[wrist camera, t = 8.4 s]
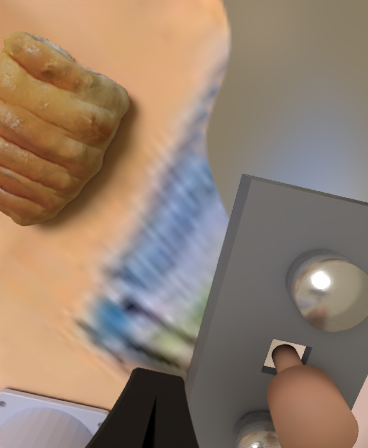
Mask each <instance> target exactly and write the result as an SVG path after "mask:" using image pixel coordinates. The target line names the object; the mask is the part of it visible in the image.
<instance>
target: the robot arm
mask: <svg viewBox="0 0 368 448" xmlns="http://www.w3.org/2000/svg"><path fill="white" fill-rule="evenodd" d="M101 422H102V423H101ZM0 448H199V445H198V442H197V438H196V435H195V431H194V427H193V423H192V419H191V415H190V411H189V407H188V402H187V397H186V391H185V385H184V380H183V379H182V377H180V376H175V375H170V374H166V373H161V372H157V371H152V370H148V369H143V368H138V367H137V368H135V369H134V370H133V371H132V373H131V376H130V378H129V380H128V382H127V384H126V386H125V388H124V390H123V391H122V393H121V395H120V397H119V398H118V400H117V401H116V403H115V405H114V406H113V408H112V410H111V411H110V413H109V412H108V411H107V410H103V409H99V408H94V407H89V406H85V405H80V404H75V403H71V402H66V401H62V400H57V399H52V398H48V397H43V396H38V395H34V394H29V393H24V392H20V391H15V390H11V389H2V390H1V391H0Z"/></svg>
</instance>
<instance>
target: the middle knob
mask: <svg viewBox="0 0 368 448" xmlns="http://www.w3.org/2000/svg"><path fill="white" fill-rule="evenodd" d="M272 359H273V362H274V365H275V367H276V371H277V373H278V374H276V375H275V376H274V377H273V379H272V380H271V381H270V383H269V385H268V388H267V393H266V397H267V402H268V406H269V409H270V413H271V416H272V420H273V423H274V427H275V431H276V434H277V438H278V441H279V444H280V446H281V448H352V447H353V446H354V444H355V442H356V440H357V437H358V424H357V421H356V419H355V417H354V415H353V414H352V412H351V410H350V409H349V407H348V405H347V404H346V402H345V400H344V398H343V397H342V395H341V393H340V392H339V390H338V388H337V386H336V385H335V383H334V381H333V380H332V378H331V377H330V376H329V375H328V374H327V373H326V372H325V371H323V370H322V369H320V368H317V367H314V366H310V365H303V363H302V361H301V359H300V357H299V355H298V353H297V351H296V349H295V348H294V347H293V346H291V345H288V344H283V345H279V346H277V347H276V348H275V349H274V350H273V352H272Z"/></svg>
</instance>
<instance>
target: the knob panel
mask: <svg viewBox="0 0 368 448" xmlns="http://www.w3.org/2000/svg"><path fill="white" fill-rule="evenodd" d="M314 249H330V250H333V251H335V252H338V253H339V254H341V255H342V256H344V257H345V258H346V259H348V260H349V261H350V262H352V263H353V264H354V265H356V266H357V267H358V268H360V269H361V270H362V271H364V272H365V273H366V274H367V275H368V203H367V202H362V201H358V200H354V199H349V198H345V197H340V196H336V195H332V194H328V193H323V192H319V191H315V190H310V189H306V188H302V187H298V186H293V185H289V184H284V183H280V182H276V181H272V180H268V179H263V178H258V177H255V176H250V175H246V174H242V177H241V181H240V184H239V188H238V192H237V195H236V199H235V203H234V207H233V210H232V214H231V217H230V221H229V225H228V228H227V232H226V235H225V239H224V243H223V246H222V250H221V254H220V257H219V261H218V265H217V268H216V272H215V276H214V279H213V283H212V287H211V290H210V294H209V298H208V301H207V305H206V309H205V312H204V316H203V320H202V323H201V327H200V331H199V334H198V338H197V342H196V345H195V349H194V353H193V356H192V360H191V364H190V367H189V371H188V375H187V378H186V382H185V391H186V397H187V402H188V407H189V411H190V415H191V419H192V423H193V427H194V431H195V435H196V438H197V442H198V445H199V448H235V444H234V436H233V431H234V427H235V425H236V423H237V422H238V421H239V420H240V419H241V418H242V417H243V416H245V415H246V414H247V412H250V413H252V412H257V411H266V412H270V409H269V406H268V402H267V397H266V393H267V388H268V385H269V383H270V381H271V380H272V379H273V377H274V376H275V375H276V374H278V373H277V371H276V368H271V367H267V366H263V365H264V362H265V360H266V357H267V354H268V351H269V348H270V345H271V342H272V340H273V339H277V340H281V341H286V342H290V343H295V344H299V345H304V346H306V349H305V351H304V354H303V356H302V359H301V361H302V363H303V365H310V366H314V367H317V368H320V369H322V370H323V371H325V372H326V373H327V374H328V375H329V376H330V377H331V378H332V380H333V381H334V383H335V385H336V386H337V388H338V390H339V392H340V393H341V395H342V397H343V398H344V400H345V402H346V404H347V405H348V407H349V409H350V410H352V408H353V405H354V403H355V401H356V399H357V397H358V394H359V392H360V390H361V388H362V386H363V383H364V381H365V379H366V377H367V375H368V316H367V317H366V318H365V319H364V320H363V321H362V322H360V323H359V324H358V325H356V326H354V327H352V328H350V329H347V330H344V331H337V332H329V331H323V330H320V329H318V328H315V327H314V326H312V325H311V324H309V323H308V322H307V321H306V320H305V318H304V317H303V315H302V314H301V312H300V310H299V309H298V307H297V306H296V304H295V303H294V301H293V299H292V298H291V296H290V295H289V293H288V291H287V287H286V275H287V271H288V269H289V267H290V265H291V264H292V263H293V261H294V260H295V259H296V258H298V257H299V256H300V255H302V254H303V253H305V252H307V251H310V250H314Z"/></svg>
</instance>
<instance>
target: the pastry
mask: <svg viewBox="0 0 368 448" xmlns="http://www.w3.org/2000/svg"><path fill="white" fill-rule="evenodd" d="M129 107H130V98H129V95H128V93H127V91H126V89H125V88H123V87H122V86H121V85H119V84H117V83H116V82H115V81H113V80H112V79H110V78H108V77H107V76H105V75H102V74H100V73H97V72H95V71H93V70H91V69H89V68H88V67H84V66H82V65H80V64H77V63H75V62H74V61H73V60H72V59H71V58H70V56H69V55H68V54H67V53H66V51H65V50H63V49H62V48H61V47H60V46H58V45H56V44H54V43H52V42H50V41H49V40H47V39H45V38H42V37H40V36H37V35H31V34H29V33H26V32H15V33H11V34H10V35H8V36H7V37H5V39H4V48H3V50H2V52H1V53H0V211H1V212H3V213H4V214H6V215H7V216H9V217H11V218H12V220H13V221H14V222H15V223H17V224H19V225H21V226H29V225H33V224H38V223H42V222H46V221H50V220H52V219H53V218H55V217H56V215H57V214H58V213H59V212H60V211H61V209H63V208H64V207H65V205H66V204H68V203H69V202H71V201H72V200H74V199H75V198H76V197H77V196H78V194H79V193H80V192H81V190H82V189H83V187H84V186H85V185H86V183H87V182H88V181H89V180H90V179H91V178H92V177H93V176H95V175H96V174H97V173H98V172H99V171H100V169H101V167H102V165H103V156H104V153H105V151H106V149H107V148H108V146H109V144H110V143H111V141H112V139H113V138H114V137H115V135H116V132H117V130H118V127H119V124H120V121H121V118H122V117H123V116H124V115H125V113H126V112H127V111H128V109H129Z"/></svg>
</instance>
